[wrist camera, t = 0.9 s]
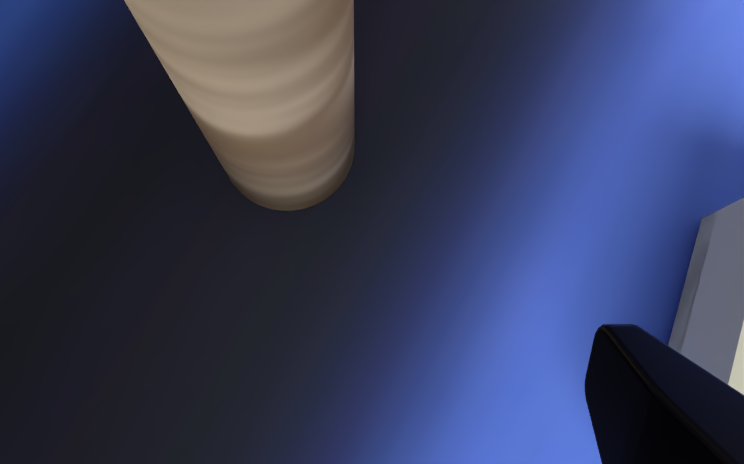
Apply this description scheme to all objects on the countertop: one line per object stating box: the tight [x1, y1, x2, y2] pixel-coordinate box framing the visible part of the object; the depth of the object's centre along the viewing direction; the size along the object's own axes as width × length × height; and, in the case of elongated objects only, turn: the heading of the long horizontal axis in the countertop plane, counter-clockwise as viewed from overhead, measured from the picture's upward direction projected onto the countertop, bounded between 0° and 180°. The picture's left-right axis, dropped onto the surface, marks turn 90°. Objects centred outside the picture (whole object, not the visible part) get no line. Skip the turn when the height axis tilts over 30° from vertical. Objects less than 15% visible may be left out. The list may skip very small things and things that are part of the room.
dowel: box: [124, 0, 355, 211], centre depth 16 cm, size 4×4×13 cm
